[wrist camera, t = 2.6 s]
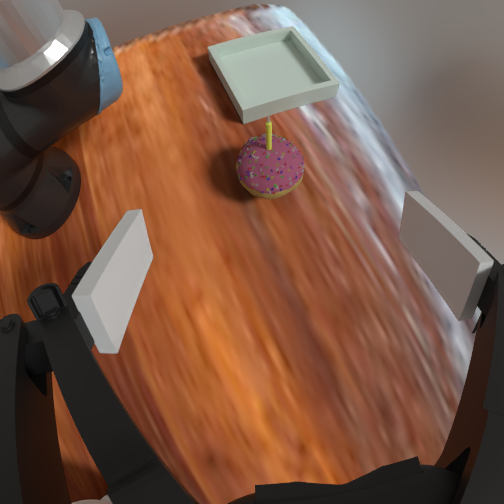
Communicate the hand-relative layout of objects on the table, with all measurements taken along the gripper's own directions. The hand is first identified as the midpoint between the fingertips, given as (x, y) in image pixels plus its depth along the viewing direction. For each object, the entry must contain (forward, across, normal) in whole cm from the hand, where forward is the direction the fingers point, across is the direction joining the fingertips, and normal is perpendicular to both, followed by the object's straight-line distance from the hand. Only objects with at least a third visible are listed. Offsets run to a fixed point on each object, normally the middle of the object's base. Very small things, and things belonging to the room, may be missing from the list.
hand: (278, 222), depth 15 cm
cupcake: (+28, +2, -8) cm, 30 cm away
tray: (+42, +4, +7) cm, 43 cm away
